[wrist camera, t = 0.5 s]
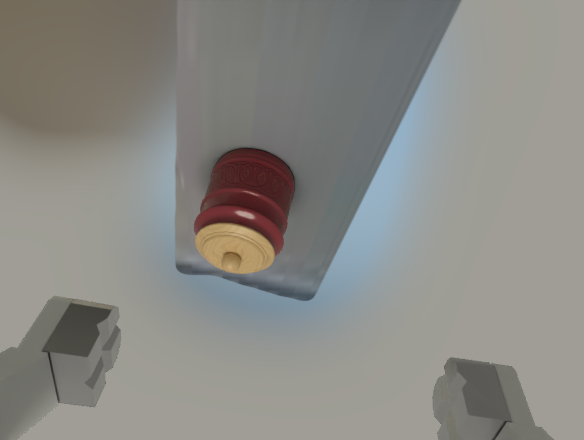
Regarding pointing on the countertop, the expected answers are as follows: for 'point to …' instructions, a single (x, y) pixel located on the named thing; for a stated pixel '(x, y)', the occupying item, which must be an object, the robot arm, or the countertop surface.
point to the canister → (245, 211)
